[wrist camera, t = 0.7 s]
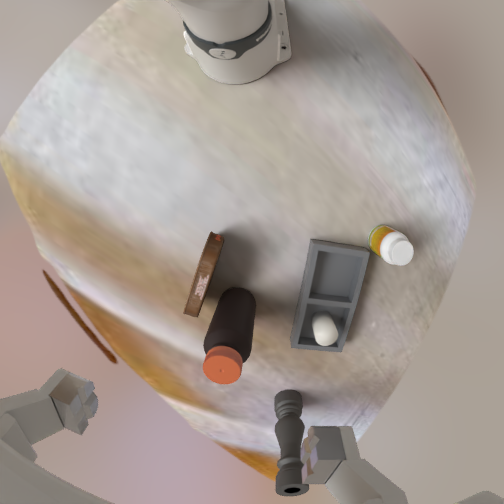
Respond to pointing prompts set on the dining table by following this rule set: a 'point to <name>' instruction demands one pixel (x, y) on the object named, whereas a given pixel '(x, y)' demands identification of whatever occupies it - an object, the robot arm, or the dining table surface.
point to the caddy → (329, 291)
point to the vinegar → (229, 336)
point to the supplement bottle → (390, 245)
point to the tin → (203, 274)
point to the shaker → (324, 328)
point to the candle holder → (289, 443)
